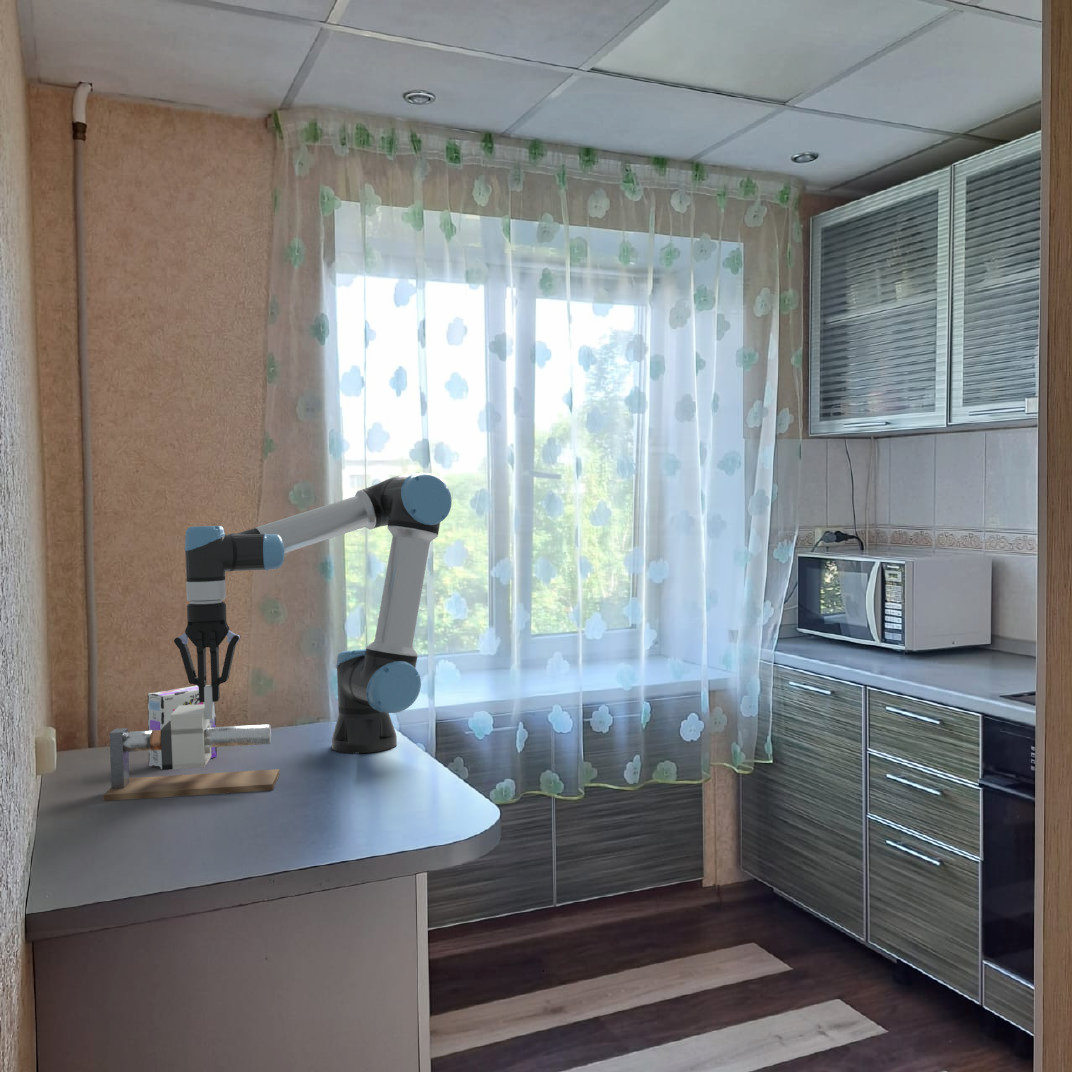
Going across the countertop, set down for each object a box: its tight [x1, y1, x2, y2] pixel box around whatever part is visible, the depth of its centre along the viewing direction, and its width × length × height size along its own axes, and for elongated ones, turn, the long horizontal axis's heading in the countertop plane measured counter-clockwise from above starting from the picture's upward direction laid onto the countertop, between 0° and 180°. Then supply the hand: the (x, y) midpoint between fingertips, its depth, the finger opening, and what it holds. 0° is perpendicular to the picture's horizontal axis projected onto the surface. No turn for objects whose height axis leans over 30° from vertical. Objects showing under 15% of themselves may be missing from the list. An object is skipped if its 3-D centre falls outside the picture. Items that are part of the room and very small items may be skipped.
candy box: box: [147, 685, 218, 770], centre depth 219 cm, size 14×6×16 cm, turn 143°
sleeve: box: [170, 704, 212, 771], centre depth 197 cm, size 6×8×11 cm
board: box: [102, 768, 280, 802], centre depth 198 cm, size 32×12×1 cm, turn 98°
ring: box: [161, 721, 173, 771], centre depth 197 cm, size 2×8×8 cm, turn 8°
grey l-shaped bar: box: [109, 723, 272, 789], centre depth 197 cm, size 31×4×11 cm, turn 98°
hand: (209, 717), depth 198 cm, fingers closed
